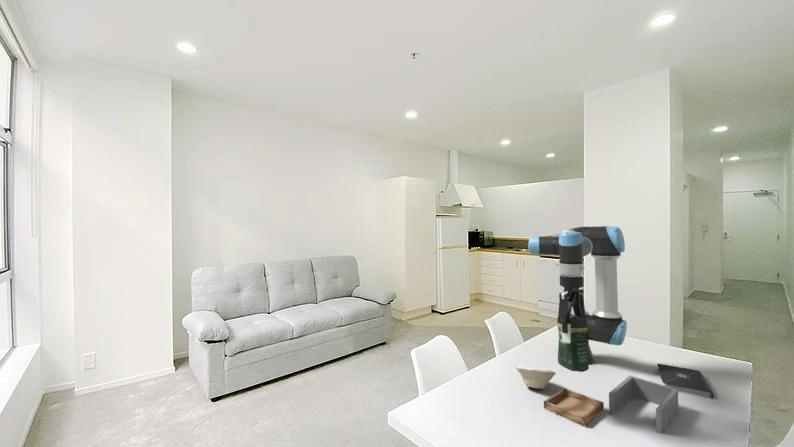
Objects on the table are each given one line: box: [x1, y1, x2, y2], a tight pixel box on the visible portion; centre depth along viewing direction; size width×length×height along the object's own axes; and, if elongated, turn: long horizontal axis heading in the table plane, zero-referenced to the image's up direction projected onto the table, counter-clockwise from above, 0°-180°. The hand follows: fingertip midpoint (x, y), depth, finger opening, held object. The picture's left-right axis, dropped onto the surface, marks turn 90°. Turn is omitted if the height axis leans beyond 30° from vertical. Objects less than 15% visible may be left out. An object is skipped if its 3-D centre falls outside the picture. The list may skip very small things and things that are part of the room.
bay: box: [608, 375, 679, 434], centre depth 115 cm, size 14×21×7 cm
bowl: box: [515, 365, 557, 390], centre depth 133 cm, size 15×14×10 cm
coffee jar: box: [556, 314, 590, 373], centre depth 117 cm, size 10×8×19 cm
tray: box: [543, 387, 605, 427], centre depth 117 cm, size 14×16×3 cm
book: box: [656, 363, 715, 399], centre depth 136 cm, size 22×15×3 cm
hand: (572, 338), depth 117 cm, fingers closed on coffee jar, 9 cm apart
